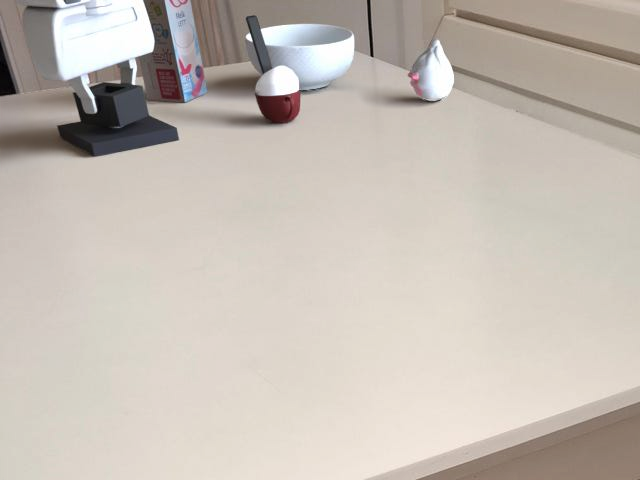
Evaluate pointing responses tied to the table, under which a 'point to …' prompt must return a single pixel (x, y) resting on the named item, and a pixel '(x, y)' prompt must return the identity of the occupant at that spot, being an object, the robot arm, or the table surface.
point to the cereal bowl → (307, 51)
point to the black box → (115, 105)
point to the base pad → (117, 135)
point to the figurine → (432, 73)
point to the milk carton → (172, 53)
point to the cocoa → (274, 82)
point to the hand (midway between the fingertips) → (111, 105)
